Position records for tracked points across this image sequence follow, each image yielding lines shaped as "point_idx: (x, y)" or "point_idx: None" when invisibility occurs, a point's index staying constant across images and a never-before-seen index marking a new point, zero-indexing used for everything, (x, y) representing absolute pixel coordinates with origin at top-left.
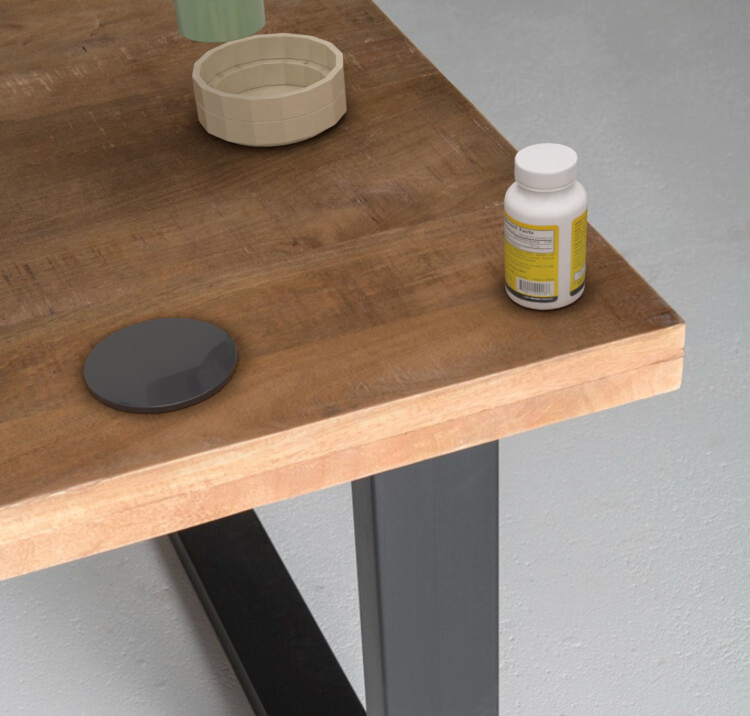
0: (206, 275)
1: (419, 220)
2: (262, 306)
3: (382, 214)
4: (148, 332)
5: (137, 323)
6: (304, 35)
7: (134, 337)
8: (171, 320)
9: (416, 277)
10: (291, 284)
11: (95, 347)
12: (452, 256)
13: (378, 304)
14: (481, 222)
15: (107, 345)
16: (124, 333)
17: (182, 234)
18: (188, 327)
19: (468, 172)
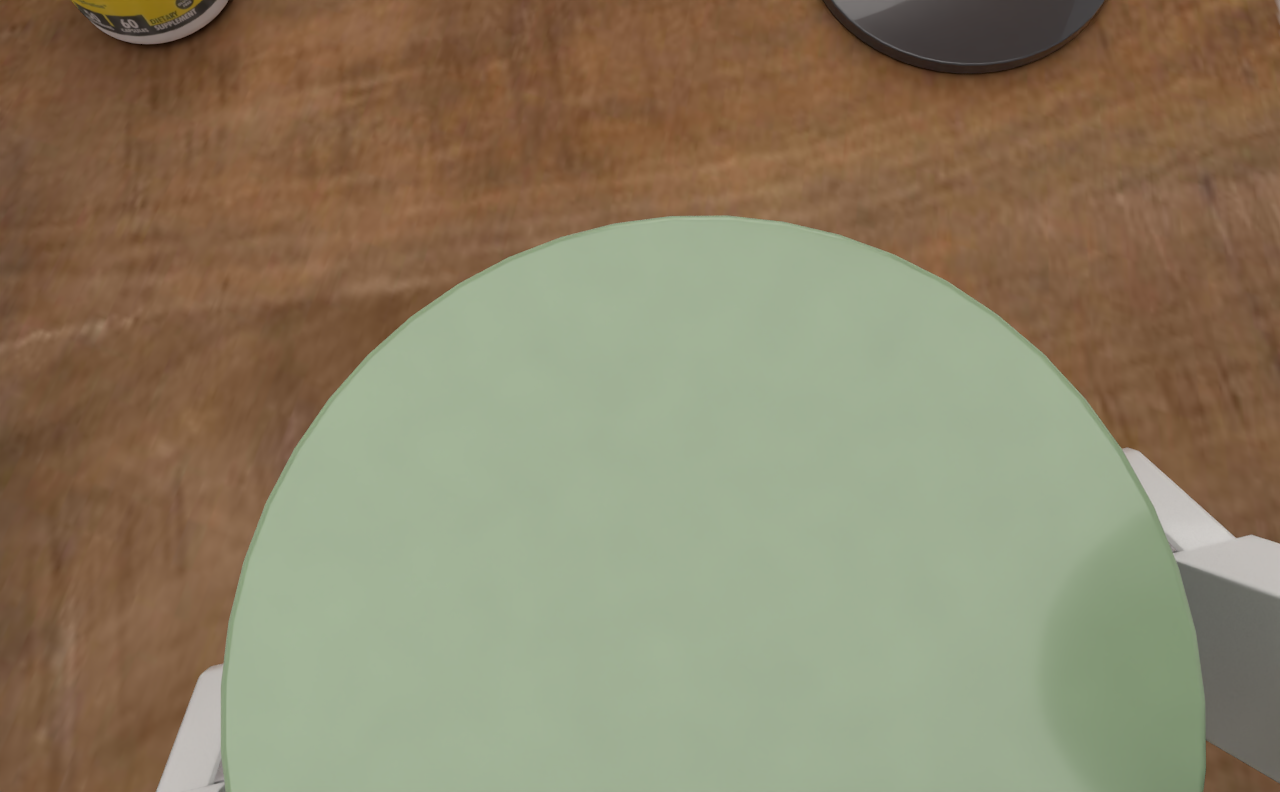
0: (840, 231)
1: (298, 314)
2: (730, 81)
3: None
4: (985, 22)
5: (1009, 59)
6: None
7: (1015, 14)
8: (933, 50)
9: (386, 94)
10: (653, 142)
11: (1100, 2)
12: (285, 148)
13: (492, 25)
14: (167, 261)
15: (1074, 3)
16: (1038, 32)
17: None
18: (898, 19)
19: (92, 506)
